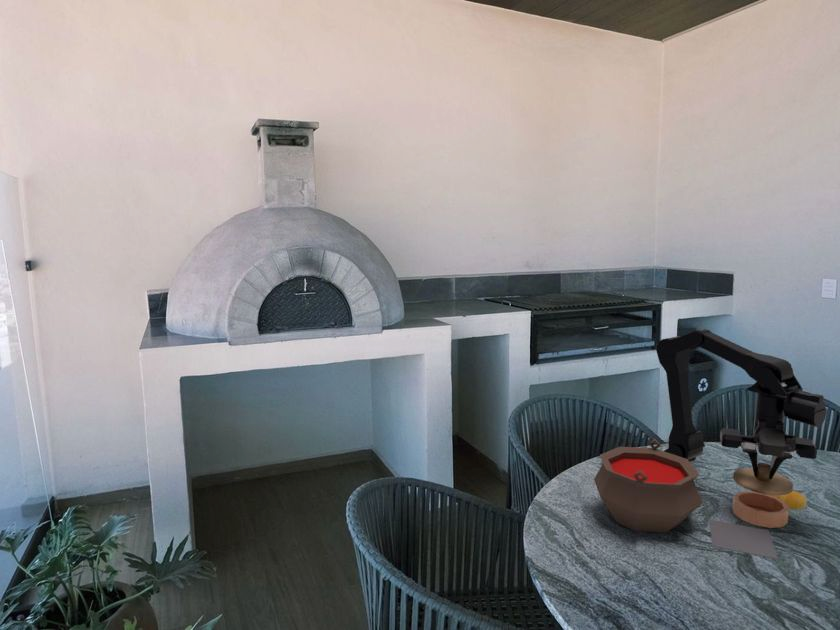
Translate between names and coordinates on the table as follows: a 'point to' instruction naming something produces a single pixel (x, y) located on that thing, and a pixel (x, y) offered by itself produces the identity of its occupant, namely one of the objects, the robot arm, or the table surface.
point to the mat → (742, 539)
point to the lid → (763, 481)
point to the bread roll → (793, 500)
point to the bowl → (760, 509)
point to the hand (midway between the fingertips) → (762, 477)
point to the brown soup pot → (647, 487)
